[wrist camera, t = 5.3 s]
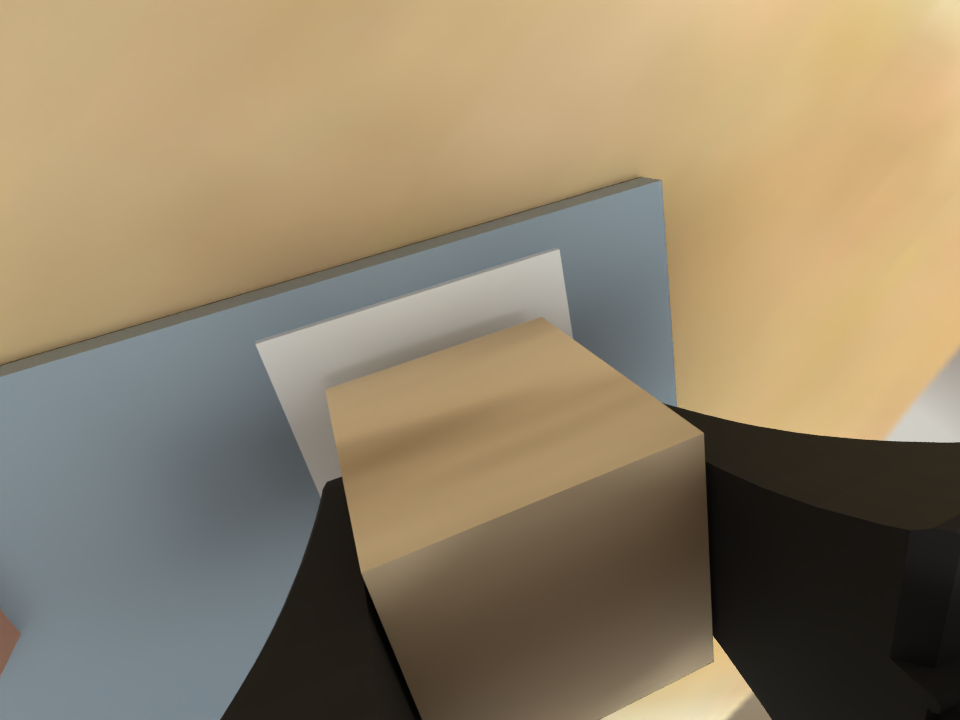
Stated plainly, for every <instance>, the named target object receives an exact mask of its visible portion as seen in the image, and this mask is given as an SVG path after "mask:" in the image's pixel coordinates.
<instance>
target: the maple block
mask: <svg viewBox="0 0 960 720" xmlns="http://www.w3.org/2000/svg"><path fill="white" fill-rule="evenodd" d="M325 393H326V398H327V403H328V408H329V413H330V418H331V423H332V428H333V433H334V438H335V443H336V448H337V453H338V458H339V464H340V469H341V474H342V479H343V484H344V489H345V494H346V499H347V504H348V509H349V514H350V519H351V524H352V529H353V535H354V540H355V545H356V550H357V555H358V560H359V565H360V570H361V574H362V576H363V579H364V581H365V584H366V586H367V588H368V591H369V593H370V596H371V598H372V600H373V603H374V605H375V608H376V610H377V612H378V615H379V617H380V620H381V622H382V624H383V627H384V629H385V632H386V634H387V636H388V639H389V641H390V644H391V646H392V648H393V651H394V653H395V656H396V658H397V661H398V663H399V665H400V668H401V670H402V673H403V675H404V677H405V680H406V682H407V685H408V687H409V689H410V692H411V694H412V697H413V699H414V701H415V704H416V706H417V709H418V711H419V713H420V716H421V718H422V720H600V719H602V718H604V717H606V716H608V715H610V714H612V713H614V712H616V711H618V710H620V709H622V708H623V707H625V706H627V705H629V704H631V703H633V702H635V701H637V700H639V699H641V698H643V697H645V696H647V695H649V694H651V693H653V692H655V691H657V690H659V689H661V688H663V687H665V686H667V685H669V684H671V683H673V682H675V681H677V680H679V679H681V678H683V677H685V676H687V675H689V674H691V673H693V672H695V671H696V670H698V669H700V668H702V667H704V666H706V665H708V664H710V663H712V662H714V655H713V632H712V609H711V586H710V563H709V539H708V516H707V493H706V470H705V447H704V433H703V432H702V431H700V430H699V429H698V428H696V427H695V426H693V425H692V424H691V423H689V422H688V421H686V420H685V419H684V418H682V417H681V416H679V415H678V414H677V413H675V412H674V411H672V410H671V409H670V408H668V407H667V406H666V405H664V404H663V403H661V402H660V401H659V400H657V399H656V398H654V397H653V396H652V395H650V394H649V393H647V392H646V391H645V390H643V389H642V388H640V387H639V386H638V385H636V384H635V383H633V382H632V381H631V380H629V379H628V378H626V377H625V376H624V375H622V374H621V373H619V372H618V371H617V370H615V369H614V368H613V367H611V366H610V365H608V364H607V363H606V362H604V361H603V360H601V359H600V358H599V357H597V356H596V355H594V354H593V353H592V352H590V351H589V350H587V349H586V348H585V347H583V346H582V345H580V344H579V343H578V342H576V341H575V340H573V339H572V338H571V337H569V336H568V335H566V334H565V333H564V332H562V331H561V330H560V329H558V328H557V327H555V326H554V325H553V324H551V323H550V322H548V321H547V320H546V319H544V318H543V317H539V318H536V319H533V320H530V321H527V322H524V323H521V324H518V325H515V326H513V327H510V328H507V329H504V330H501V331H498V332H495V333H492V334H489V335H486V336H483V337H480V338H477V339H474V340H471V341H468V342H465V343H462V344H459V345H456V346H453V347H450V348H447V349H444V350H441V351H438V352H435V353H432V354H429V355H426V356H423V357H420V358H417V359H414V360H411V361H408V362H406V363H403V364H400V365H397V366H394V367H391V368H388V369H385V370H382V371H379V372H376V373H373V374H370V375H367V376H364V377H361V378H358V379H355V380H352V381H349V382H346V383H343V384H340V385H337V386H334V387H331V388H328V389H325Z"/></svg>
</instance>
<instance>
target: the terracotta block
mask: <svg viewBox="0 0 960 720" xmlns="http://www.w3.org/2000/svg"><path fill="white" fill-rule="evenodd" d="M20 635H21V634H20V632H19V631H18V630H17V629H16V628H15V626H14V625H13V624H12V623H11V622H10V620H9V619H8V618H7V617H6V616H5V615H4V613H3V612H2V611H1V610H0V676H1V674H2V672H3V670H4V668H5V666H6V664H7V662H8V660H9V658H10V656H11V654H12V651H13V649H14V647H15V645H16V643H17V641H18V639H19V637H20Z"/></svg>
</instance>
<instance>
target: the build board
mask: <svg viewBox="0 0 960 720" xmlns="http://www.w3.org/2000/svg"><path fill="white" fill-rule="evenodd" d="M539 317H543V318H544V319H546V320H547V321H548V322H550V323H551V324H553V325H554V326H555V327H557V328H558V329H560V330H561V331H562V332H564V333H565V334H566V335H568V336H569V337H571V338H572V339H573V340H575V341H576V342H578V343H579V344H580V345H582V346H583V347H585V348H586V349H587V350H589V351H590V352H592V353H593V354H594V355H596V356H597V357H599V358H600V359H601V360H603V361H604V362H606V363H607V364H608V365H610V366H611V367H613V368H614V369H615V370H617V371H618V372H619V373H621V374H622V375H624V376H625V377H626V378H628V379H629V380H631V381H632V382H633V383H635V384H636V385H638V386H639V387H640V388H642V389H643V390H645V391H646V392H647V393H649V394H650V395H652V396H653V397H654V398H656V399H657V400H659V401H660V402H661V403H665V404H668V405H672V406H675V407H677V401H676V386H675V371H674V356H673V342H672V327H671V312H670V297H669V282H668V267H667V252H666V237H665V222H664V208H663V193H662V180H658V179H651V178H644V177H640V178H637V179H633V180H630V181H626V182H623V183H620V184H616V185H613V186H609V187H606V188H603V189H599V190H596V191H592V192H589V193H586V194H582V195H579V196H575V197H572V198H569V199H565V200H562V201H558V202H555V203H552V204H548V205H545V206H541V207H538V208H535V209H531V210H528V211H524V212H521V213H518V214H514V215H511V216H507V217H504V218H501V219H497V220H494V221H490V222H487V223H484V224H480V225H477V226H473V227H470V228H467V229H463V230H460V231H456V232H453V233H450V234H446V235H443V236H439V237H436V238H433V239H429V240H426V241H422V242H419V243H416V244H412V245H409V246H405V247H402V248H399V249H395V250H392V251H388V252H385V253H382V254H378V255H375V256H371V257H368V258H365V259H361V260H358V261H354V262H351V263H347V264H344V265H341V266H337V267H334V268H330V269H327V270H324V271H320V272H317V273H313V274H310V275H307V276H303V277H300V278H296V279H293V280H290V281H286V282H283V283H279V284H276V285H273V286H269V287H266V288H262V289H259V290H256V291H252V292H249V293H245V294H242V295H239V296H235V297H232V298H228V299H225V300H222V301H218V302H215V303H211V304H208V305H205V306H201V307H198V308H194V309H191V310H188V311H184V312H181V313H177V314H174V315H171V316H167V317H164V318H160V319H157V320H154V321H150V322H147V323H143V324H140V325H137V326H133V327H130V328H126V329H123V330H120V331H116V332H113V333H109V334H106V335H103V336H99V337H96V338H92V339H89V340H86V341H82V342H79V343H75V344H72V345H69V346H65V347H62V348H58V349H55V350H52V351H48V352H45V353H41V354H38V355H35V356H31V357H28V358H24V359H21V360H18V361H14V362H11V363H7V364H4V365H1V366H0V610H1V611H2V612H3V613H4V615H5V616H6V617H7V618H8V619H9V620H10V622H11V623H12V624H13V625H14V626H15V628H16V629H17V630H18V631H19V632H20V634H21V635H20V637H19V639H18V641H17V643H16V645H15V647H14V649H13V651H12V654H11V656H10V658H9V660H8V662H7V664H6V666H5V668H4V670H3V672H2V674H1V676H0V720H220V719H221V717H222V716H223V714H224V713H225V711H226V709H227V708H228V706H229V705H230V703H231V701H232V700H233V698H234V697H235V695H236V693H237V692H238V690H239V688H240V687H241V685H242V683H243V682H244V680H245V678H246V677H247V675H248V673H249V671H250V670H251V668H252V666H253V665H254V663H255V661H256V659H257V657H258V656H259V654H260V652H261V650H262V648H263V646H264V644H265V642H266V640H267V639H268V637H269V635H270V633H271V631H272V629H273V627H274V625H275V622H276V620H277V618H278V616H279V614H280V612H281V610H282V608H283V605H284V603H285V601H286V598H287V596H288V593H289V591H290V589H291V586H292V584H293V581H294V579H295V577H296V574H297V572H298V569H299V567H300V564H301V561H302V558H303V555H304V553H305V550H306V547H307V544H308V541H309V538H310V535H311V532H312V529H313V525H314V522H315V519H316V515H317V511H318V508H319V504H320V499H321V495H322V490H323V488H324V486H325V484H326V482H328V481H331V480H333V479H336V478H339V477H341V476H342V474H341V469H340V464H339V458H338V453H337V448H336V443H335V438H334V433H333V428H332V423H331V418H330V413H329V408H328V403H327V398H326V393H325V389H328V388H331V387H334V386H337V385H340V384H343V383H346V382H349V381H352V380H355V379H358V378H361V377H364V376H367V375H370V374H373V373H376V372H379V371H382V370H385V369H388V368H391V367H394V366H397V365H400V364H403V363H406V362H408V361H411V360H414V359H417V358H420V357H423V356H426V355H429V354H432V353H435V352H438V351H441V350H444V349H447V348H450V347H453V346H456V345H459V344H462V343H465V342H468V341H471V340H474V339H477V338H480V337H483V336H486V335H489V334H492V333H495V332H498V331H501V330H504V329H507V328H510V327H513V326H515V325H518V324H521V323H524V322H527V321H530V320H533V319H536V318H539Z"/></svg>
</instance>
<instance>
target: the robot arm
mask: <svg viewBox="0 0 960 720" xmlns="http://www.w3.org/2000/svg"><path fill="white" fill-rule="evenodd" d="M663 404H664V405H666V406H667V407H668V408H670V409H671V410H672V411H674V412H675V413H677V414H678V415H679V416H681V417H682V418H684V419H685V420H686V421H688V422H689V423H691V424H692V425H693V426H695V427H696V428H698V429H699V430H700V431H702V432H703V433H704V447H705V470H706V493H707V516H708V539H709V563H710V586H711V609H712V632H713V636H714V638H715V639H716V640H717V642H718V643H719V644H720V646H721V647H722V648H723V650H724V651H725V653H726V654H727V655H728V657H729V658H730V660H731V661H732V662H733V664H734V665H735V667H736V668H737V670H738V671H739V672H740V674H741V675H742V677H743V678H744V680H745V681H746V682H747V684H748V685H749V687H750V688H751V689H752V691H753V692H754V694H755V695H756V697H757V698H758V699H759V701H760V702H761V704H762V705H763V707H764V708H765V710H766V711H767V713H768V714H769V716H770V717H771V719H772V720H960V442H959V443H958V442H957V443H934V442H896V441H878V440H861V439H850V438H840V437H829V436H818V435H811V434H803V433H795V432H789V431H783V430H777V429H771V428H764V427H758V426H753V425H748V424H743V423H738V422H734V421H730V420H725V419H721V418H717V417H713V416H708V415H704V414H701V413H697V412H693V411H689V410H686V409H682V408H679V407H675V406H672V405H668V404H665V403H663ZM220 720H422V718H421V716H420V713H419V711H418V709H417V706H416V704H415V701H414V699H413V697H412V694H411V692H410V689H409V687H408V685H407V682H406V680H405V677H404V675H403V673H402V670H401V668H400V665H399V663H398V661H397V658H396V656H395V653H394V651H393V648H392V646H391V644H390V641H389V639H388V636H387V634H386V632H385V629H384V627H383V624H382V622H381V620H380V617H379V615H378V612H377V610H376V608H375V605H374V603H373V600H372V598H371V596H370V593H369V591H368V588H367V586H366V584H365V581H364V579H363V576H362V574H361V570H360V565H359V560H358V555H357V550H356V545H355V540H354V535H353V529H352V524H351V519H350V514H349V509H348V504H347V499H346V494H345V489H344V484H343V479H342V476H341V477H339V478H336V479H333V480H331V481H328V482H326V484H325V486H324V488H323V490H322V495H321V499H320V504H319V508H318V511H317V515H316V519H315V522H314V525H313V529H312V532H311V535H310V538H309V541H308V544H307V547H306V550H305V553H304V555H303V558H302V561H301V564H300V567H299V569H298V572H297V574H296V577H295V579H294V581H293V584H292V586H291V589H290V591H289V593H288V596H287V598H286V601H285V603H284V605H283V608H282V610H281V612H280V614H279V616H278V618H277V620H276V622H275V625H274V627H273V629H272V631H271V633H270V635H269V637H268V639H267V640H266V642H265V644H264V646H263V648H262V650H261V652H260V654H259V656H258V657H257V659H256V661H255V663H254V665H253V666H252V668H251V670H250V671H249V673H248V675H247V677H246V678H245V680H244V682H243V683H242V685H241V687H240V688H239V690H238V692H237V693H236V695H235V697H234V698H233V700H232V701H231V703H230V705H229V706H228V708H227V709H226V711H225V713H224V714H223V716H222V717H221V719H220Z"/></svg>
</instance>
